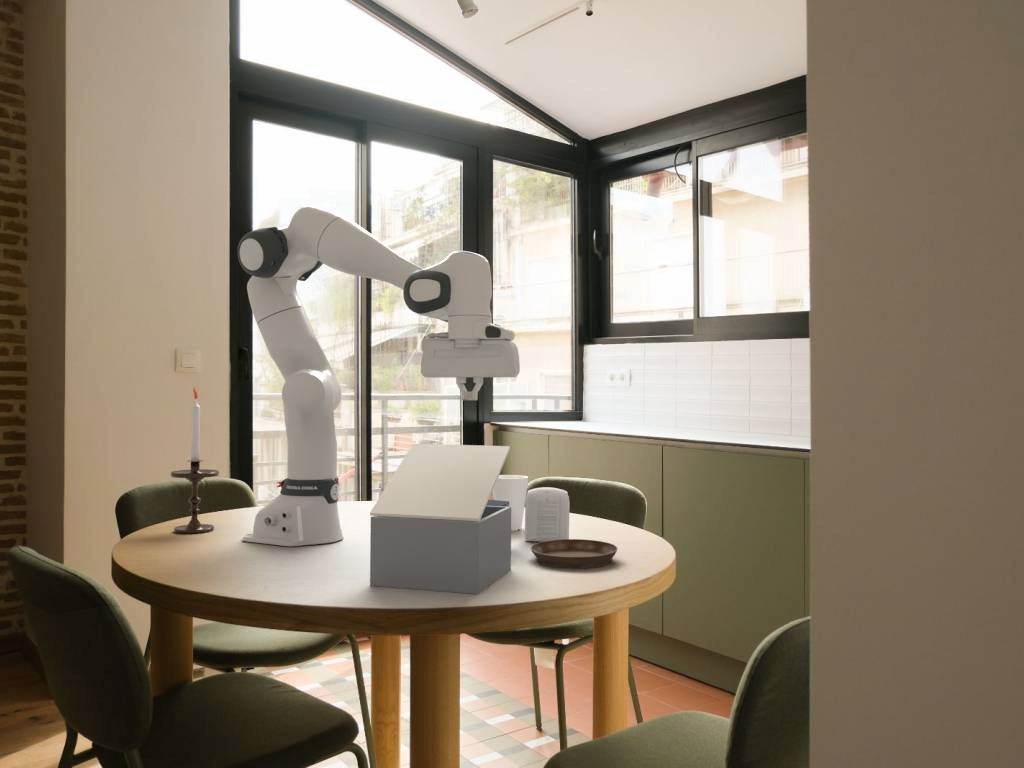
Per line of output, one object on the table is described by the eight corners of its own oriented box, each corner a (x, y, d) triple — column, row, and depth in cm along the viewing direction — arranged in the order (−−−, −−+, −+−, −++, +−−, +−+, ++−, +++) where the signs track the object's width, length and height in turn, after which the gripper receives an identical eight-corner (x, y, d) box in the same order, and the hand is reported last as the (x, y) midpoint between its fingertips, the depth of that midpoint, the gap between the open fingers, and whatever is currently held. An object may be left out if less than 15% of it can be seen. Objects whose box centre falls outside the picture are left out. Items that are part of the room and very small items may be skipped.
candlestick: (161, 531, 192) (163, 386, 192) (204, 525, 200) (205, 387, 201) (183, 536, 185) (185, 386, 185) (226, 530, 193) (228, 387, 194)
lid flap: (370, 515, 139) (369, 512, 138) (413, 446, 157) (412, 443, 157) (479, 521, 133) (478, 518, 133) (510, 448, 152) (509, 446, 151)
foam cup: (527, 531, 194) (528, 478, 195) (490, 531, 194) (490, 478, 195) (527, 525, 204) (527, 475, 204) (491, 525, 204) (491, 474, 204)
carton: (370, 585, 138) (370, 517, 139) (414, 562, 158) (414, 502, 158) (478, 594, 133) (479, 522, 133) (510, 569, 152) (511, 506, 152)
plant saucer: (554, 574, 150) (554, 558, 150) (516, 556, 166) (516, 542, 166) (634, 566, 157) (634, 551, 157) (590, 550, 173) (590, 536, 173)
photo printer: (569, 539, 184) (569, 486, 184) (569, 543, 180) (569, 488, 180) (525, 539, 185) (525, 486, 185) (524, 542, 180) (524, 488, 181)
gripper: (415, 331, 159) (415, 400, 159) (513, 329, 154) (513, 400, 154) (427, 333, 165) (427, 400, 165) (522, 332, 160) (521, 400, 160)
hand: (469, 400), depth 159 cm, fingers closed
